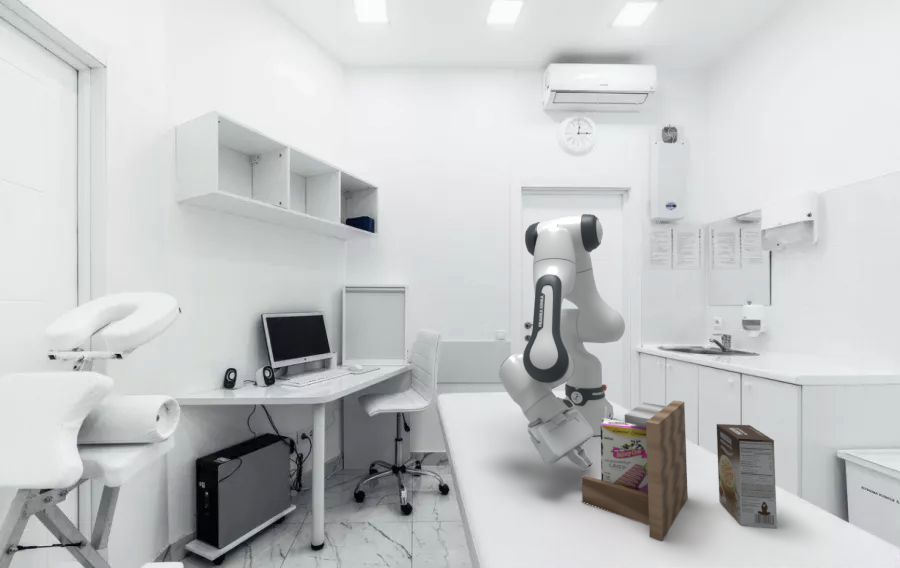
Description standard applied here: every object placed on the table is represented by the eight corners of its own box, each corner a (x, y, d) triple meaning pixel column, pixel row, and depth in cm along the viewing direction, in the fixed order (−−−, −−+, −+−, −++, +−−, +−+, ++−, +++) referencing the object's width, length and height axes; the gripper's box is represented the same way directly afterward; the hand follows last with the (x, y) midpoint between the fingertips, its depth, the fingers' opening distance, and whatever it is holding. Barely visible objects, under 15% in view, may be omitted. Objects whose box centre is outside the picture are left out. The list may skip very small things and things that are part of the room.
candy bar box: (601, 505, 81) (599, 424, 82) (603, 494, 86) (600, 417, 87) (663, 517, 77) (660, 430, 77) (662, 505, 81) (659, 423, 82)
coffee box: (717, 501, 82) (714, 422, 83) (752, 504, 81) (749, 424, 82) (740, 526, 73) (736, 437, 74) (780, 529, 72) (776, 439, 73)
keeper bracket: (610, 476, 95) (608, 391, 96) (687, 498, 84) (684, 401, 85) (573, 509, 80) (571, 408, 81) (662, 541, 69) (658, 424, 70)
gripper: (533, 417, 86) (578, 476, 79) (574, 398, 101) (614, 447, 94) (515, 433, 89) (557, 492, 82) (558, 413, 104) (596, 461, 97)
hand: (588, 467), depth 88 cm, fingers closed
